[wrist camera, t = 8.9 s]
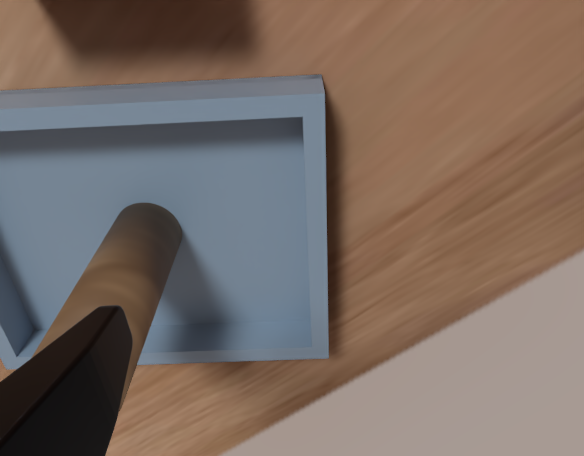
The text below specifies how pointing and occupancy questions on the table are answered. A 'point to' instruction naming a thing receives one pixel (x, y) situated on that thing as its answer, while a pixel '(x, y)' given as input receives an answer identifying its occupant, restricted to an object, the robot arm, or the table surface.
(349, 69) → the table surface
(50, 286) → the slate tray
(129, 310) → the walnut dowel
